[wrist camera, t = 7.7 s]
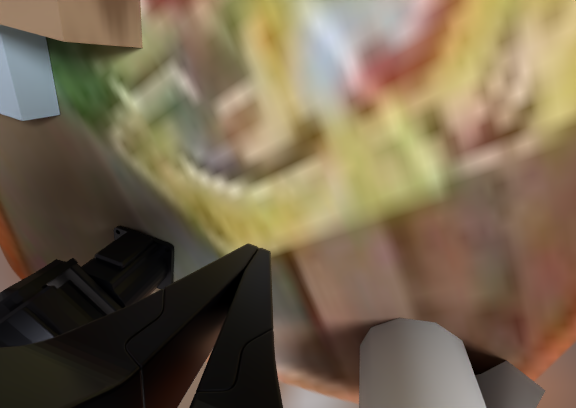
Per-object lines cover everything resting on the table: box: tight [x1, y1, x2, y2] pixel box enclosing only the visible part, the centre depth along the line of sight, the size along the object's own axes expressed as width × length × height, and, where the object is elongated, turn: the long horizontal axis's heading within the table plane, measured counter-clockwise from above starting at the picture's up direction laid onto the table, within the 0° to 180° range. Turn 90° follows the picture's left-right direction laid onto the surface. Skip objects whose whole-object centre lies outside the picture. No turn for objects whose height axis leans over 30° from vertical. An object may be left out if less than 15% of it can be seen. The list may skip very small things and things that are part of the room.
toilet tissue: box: [359, 318, 545, 408], centre depth 22 cm, size 9×13×9 cm
